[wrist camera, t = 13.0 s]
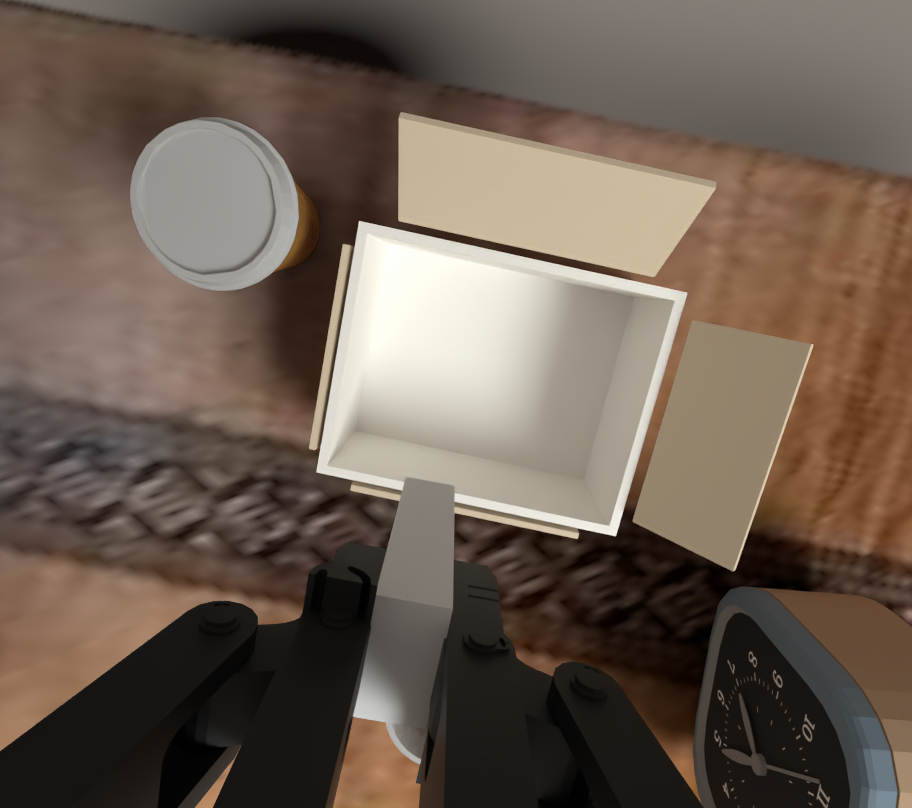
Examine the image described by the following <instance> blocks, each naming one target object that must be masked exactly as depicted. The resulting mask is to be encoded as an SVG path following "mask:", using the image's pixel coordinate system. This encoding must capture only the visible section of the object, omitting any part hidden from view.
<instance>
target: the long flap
mask: <svg viewBox="0 0 912 808" xmlns="http://www.w3.org/2000/svg"><path fill="white" fill-rule="evenodd" d="M715 189H716V182H715V181H710V180H706V179H701V178H697V177H692V176H688V175H683V174H679V173H674V172H670V171H665V170H661V169H656V168H652V167H647V166H642V165H638V164H633V163H629V162H624V161H620V160H615V159H611V158H606V157H602V156H597V155H593V154H588V153H584V152H579V151H575V150H570V149H566V148H561V147H557V146H552V145H548V144H543V143H539V142H534V141H530V140H525V139H521V138H516V137H512V136H507V135H503V134H498V133H494V132H489V131H485V130H480V129H476V128H471V127H467V126H462V125H458V124H453V123H449V122H444V121H439V120H435V119H430V118H426V117H421V116H417V115H412V114H408V113H403V112H400V115H399V189H398V221H401V222H405V223H410V224H414V225H419V226H423V227H428V228H433V229H437V230H442V231H446V232H451V233H455V234H460V235H464V236H469V237H474V238H478V239H483V240H487V241H492V242H496V243H501V244H505V245H510V246H515V247H519V248H524V249H528V250H533V251H537V252H542V253H547V254H551V255H556V256H560V257H565V258H569V259H574V260H578V261H583V262H588V263H592V264H597V265H601V266H606V267H610V268H615V269H619V270H624V271H629V272H633V273H638V274H642V275H647V276H651V277H655V275H656V274H657V272H658V271H659V270H660V268H661V267H662V265H663V264H664V262H665V261H666V259H667V258H668V257H669V255H670V254H671V252H672V251H673V249H674V248H675V247H676V245H677V244H678V242H679V241H680V239H681V238H682V236H683V235H684V234H685V232H686V231H687V229H688V228H689V226H690V225H691V223H692V222H693V221H694V219H695V218H696V216H697V215H698V213H699V212H700V211H701V209H702V208H703V206H704V205H705V203H706V202H707V200H708V199H709V198H710V196H711V195H712V193H713V192H714V190H715Z"/></svg>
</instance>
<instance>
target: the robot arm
mask: <svg viewBox="0 0 912 808" xmlns="http://www.w3.org/2000/svg"><path fill="white" fill-rule="evenodd" d="M454 496H455V486H453V485H448V484H442V483H437V482H432V481H427V480H422V479H416V478H411V477H406V478H405V482H404V486H403V490H402V494H401V497H400V501H399V505H398V509H397V513H396V517H395V520H394V524H393V528H392V532H391V536H390V540H389V543H388V547H387V549H384V548H379V547H373V546H368V545H363V544H357V543H352V542H349V543H348V544H346V545H345V546H343V547H341V548H340V549H338V550H337V552H336V554H335V557H334V559H333V561H332V562H330V563H324V564H321V565H319V566H317V567H315V568H314V569H313V570H312V571H311V572H310V573H309V577H308V583H307V589H306V595H305V602H304V608H303V613H302V615H301V617H300V618H298V619H296V620H294V621H290V622H287V623H281V624H267V625H258V617H257V615H256V614H255V613H254V611H253V610H252V609H250V608H249V607H247V606H245V605H243V604H240V603H235V602H231V601H213V602H209V603H205V604H200V605H198V606H196V607H194V608H192V609H191V610H189V611H187V612H186V613H184V614H183V615H182V616H180V617H179V618H178V619H176V620H175V621H174V622H172V623H171V624H170V625H168V626H167V627H166V628H164V629H163V630H162V631H160V632H159V633H158V634H156V635H155V636H154V637H152V638H151V639H150V640H148V641H147V642H146V643H144V644H143V645H142V646H140V647H139V648H138V649H136V650H135V651H134V652H132V653H131V654H130V655H128V656H127V657H126V658H124V659H123V660H122V661H120V662H119V663H118V664H116V665H115V666H114V667H112V668H111V669H110V670H108V671H107V672H106V673H104V674H103V675H102V676H100V677H99V678H98V679H96V680H95V681H94V682H92V683H91V684H90V685H88V686H87V687H86V688H84V689H83V690H81V691H80V692H79V693H77V694H76V695H75V696H73V697H72V698H71V699H69V700H68V701H67V702H65V703H64V704H63V705H61V706H60V707H59V708H57V709H56V710H55V711H53V712H52V713H51V714H49V715H48V716H47V717H45V718H44V719H43V720H41V721H40V722H39V723H37V724H36V725H35V726H33V727H32V728H31V729H29V730H28V731H27V732H25V733H24V734H23V735H21V736H20V737H19V738H17V739H16V740H15V741H13V742H12V743H11V744H9V745H8V746H7V747H5V748H4V749H3V750H1V751H0V808H195V807H196V805H197V804H198V803H199V802H200V800H201V799H202V798H203V797H204V795H205V794H206V793H207V792H208V790H209V789H210V788H211V787H212V785H213V784H214V783H215V781H216V780H217V779H218V778H219V776H220V775H221V774H222V773H223V771H224V770H225V769H226V768H227V766H228V765H229V764H230V763H231V761H232V760H233V759H234V758H235V756H236V754H237V752H238V750H239V748H240V746H241V748H240V750H239V752H238V754H237V756H236V758H235V761H234V763H233V765H232V767H231V769H230V772H229V774H228V776H227V778H226V780H225V782H224V785H223V787H222V789H221V791H220V793H219V795H218V798H217V800H216V802H215V804H214V806H213V808H333V804H334V800H335V795H336V791H337V787H338V783H339V778H340V774H341V770H342V765H343V761H344V757H345V752H346V748H347V744H348V740H349V735H350V730H351V724H352V719H353V717H358V718H364V719H370V720H375V721H381V722H387V723H393V724H398V725H404V726H410V727H415V728H421V729H426V727H427V723H428V718H429V727H428V732H427V736H426V740H425V745H424V749H423V754H422V758H421V763H420V767H419V772H418V776H417V781H416V783H419V784H421V788H420V801H419V808H704V807H703V806H702V804H701V803H700V801H699V800H698V799H697V797H696V796H695V794H694V793H693V791H692V790H691V788H690V787H689V786H688V784H687V783H686V781H685V780H684V778H683V777H682V775H681V774H680V772H679V771H678V770H677V768H676V767H675V765H674V764H673V762H672V761H671V759H670V758H669V757H668V755H667V754H666V752H665V751H664V749H663V748H662V746H661V745H660V744H659V742H658V741H657V739H656V738H655V736H654V735H653V733H652V732H651V731H650V729H649V728H648V726H647V725H646V723H645V722H644V720H643V719H642V718H641V716H640V715H639V713H638V712H637V710H636V709H635V707H634V706H633V704H632V703H631V702H630V700H629V699H628V697H627V696H626V694H625V693H624V691H623V690H622V689H621V687H620V686H619V685H618V684H617V683H616V682H615V681H614V679H613V678H612V677H611V676H609V675H608V674H606V673H605V672H603V671H602V670H600V669H598V668H596V667H594V666H591V665H588V664H585V663H578V662H568V663H562V664H561V665H560V666H558V667H557V668H555V672H554V675H553V676H550V675H548V674H545V673H543V672H541V671H538V670H536V669H534V668H532V667H530V666H528V665H526V664H524V663H523V662H522V661H520V660H519V659H517V658H516V653H515V649H514V646H513V644H512V642H511V640H510V639H509V638H508V637H507V636H506V635H505V634H504V631H503V623H502V616H501V608H500V603H499V593H498V585H497V578H496V577H495V576H494V574H493V573H492V572H491V570H490V569H489V568H488V567H487V566H483V565H478V564H473V563H467V562H462V561H457V560H454Z"/></svg>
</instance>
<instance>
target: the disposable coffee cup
mask: <svg viewBox="0 0 912 808" xmlns="http://www.w3.org/2000/svg"><path fill="white" fill-rule="evenodd" d="M130 201H131V208H132V215H133V219H134V221H135V224H136V226H137V229H138V231H139V234H140V236H141V238H142V239H143V241H144V242H145V244H146V245H147V247H148V249H149V250H150V251H151V252H152V253H153V254H154V255H155V256H156V257H157V259H158V260H159V261H160V262H161V263H162V264H163V265H164V266H165V267H166V268H167V269H168V270H169V271H170V272H171V273H173V274H174V275H176V276H178V277H179V278H181V279H182V280H184V281H186V282H188V283H190V284H193V285H195V286H197V287H200V288H205V289H210V290H218V291H228V290H237V289H242V288H245V287H248V286H251V285H253V284H255V283H258V282H260V281H261V280H263V279H264V278H266V277H267V276H269V275H270V274H271V273H273V272H276V271H279V270H283V269H286V268H288V267H293V266H295V265H297V264H299V263H301V262H303V261H304V260H306V259H307V258H308V256H309V255H310V254H311V253H312V252H313V250H314V248H315V247H316V245H317V242H318V239H319V234H320V221H319V216H318V213H317V210H316V208H315V206H314V204H313V202H312V201H311V199H310V198H309V197H308V196H307V195H306V194H305V192H304V191H303V190H302V189H301V188H300V187H299V185H298V184H297V183H296V182H295V181H294V180H293V177H292V175H291V173H290V171H289V169H288V167H287V165H286V163H285V161H284V159H283V158H282V157H281V156H280V155H279V153H278V152H277V151H276V150H275V149H274V147H273V146H272V145H271V144H270V143H269V141H267V140H266V139H265V138H264V137H262V136H261V135H260V134H258V133H257V132H256V131H254V130H253V129H251V128H249V127H247V126H245V125H243V124H241V123H239V122H236V121H232V120H228V119H224V118H219V117H200V118H196V119H192V120H188V121H184V122H182V123H178V124H176V125H174V126H171V127H169V128H167V129H165V130H164V131H162V132H161V133H160V134H158V135H157V136H156V137H155V138H154V139H153V140H151V141H150V142H149V143H148V144H147V145H146V147H145V149H144V150H143V152H142V153H141V155H140V156H139V158H138V160H137V163H136V165H135V168H134V171H133V174H132V180H131V186H130Z"/></svg>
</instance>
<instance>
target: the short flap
mask: <svg viewBox="0 0 912 808" xmlns="http://www.w3.org/2000/svg"><path fill="white" fill-rule="evenodd" d="M812 348H813V344H808V343H803V342H798V341H793V340H788V339H784V338H779V337H774V336H769V335H764V334H759V333H754V332H749V331H744V330H739V329H734V328H729V327H724V326H719V325H714V324H709V323H704V322H699V321H695V320H692V323H691V327H690V330H689V333H688V337H687V340H686V343H685V347H684V350H683V353H682V357H681V360H680V364H679V367H678V370H677V374H676V377H675V380H674V384H673V387H672V390H671V394H670V397H669V400H668V404H667V407H666V410H665V414H664V417H663V420H662V424H661V427H660V430H659V434H658V437H657V440H656V444H655V447H654V450H653V454H652V457H651V461H650V464H649V467H648V471H647V474H646V477H645V481H644V484H643V487H642V491H641V494H640V497H639V501H638V504H637V507H636V511H635V514H634V517H633V521H632V522H634V523H636V524H638V525H640V526H642V527H644V528H646V529H648V530H650V531H652V532H654V533H656V534H658V535H660V536H662V537H664V538H666V539H668V540H670V541H672V542H674V543H676V544H678V545H680V546H682V547H684V548H686V549H688V550H690V551H692V552H694V553H696V554H698V555H700V556H702V557H704V558H707V559H709V560H711V561H713V562H715V563H717V564H719V565H721V566H723V567H725V568H727V569H729V570H731V571H735V570H736V567H737V564H738V561H739V558H740V556H741V553H742V550H743V547H744V544H745V541H746V538H747V535H748V532H749V530H750V527H751V524H752V521H753V518H754V515H755V512H756V509H757V507H758V504H759V501H760V498H761V495H762V492H763V489H764V486H765V483H766V481H767V478H768V475H769V472H770V469H771V466H772V463H773V460H774V457H775V455H776V452H777V449H778V446H779V443H780V440H781V437H782V434H783V432H784V429H785V426H786V423H787V420H788V417H789V414H790V411H791V408H792V406H793V403H794V400H795V397H796V394H797V391H798V388H799V385H800V382H801V380H802V377H803V374H804V371H805V368H806V365H807V362H808V359H809V357H810V354H811V351H812Z"/></svg>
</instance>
